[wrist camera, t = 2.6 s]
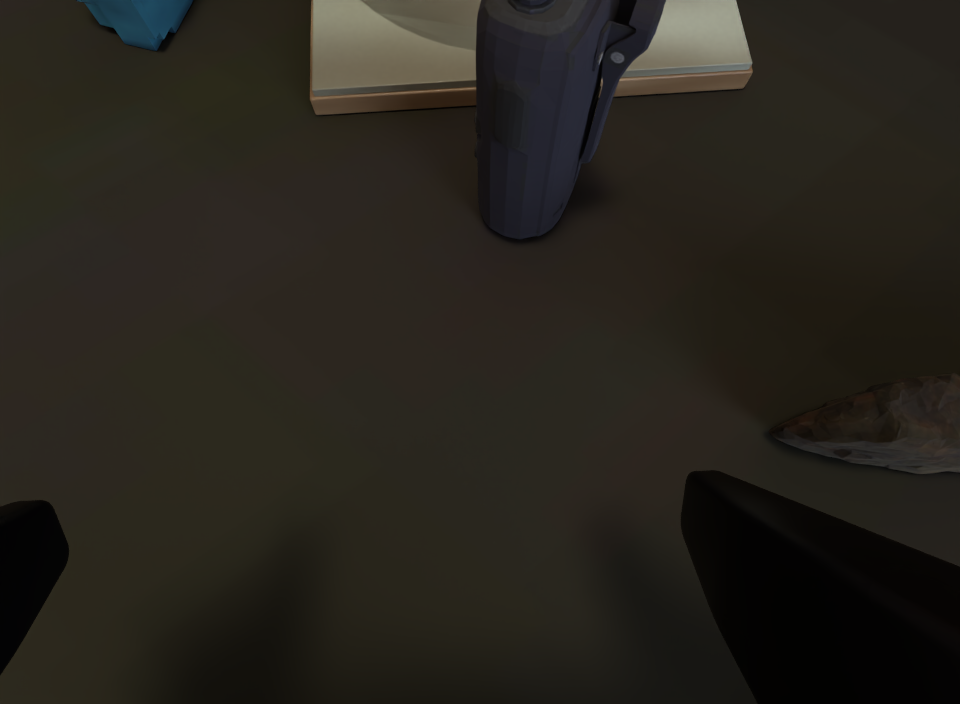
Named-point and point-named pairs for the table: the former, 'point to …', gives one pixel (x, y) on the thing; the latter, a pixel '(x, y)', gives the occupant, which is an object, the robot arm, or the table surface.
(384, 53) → the rounded flat tile
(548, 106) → the two-way radio
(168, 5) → the handheld gaming console
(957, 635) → the robot arm
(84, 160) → the table surface
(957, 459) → the wooden log
